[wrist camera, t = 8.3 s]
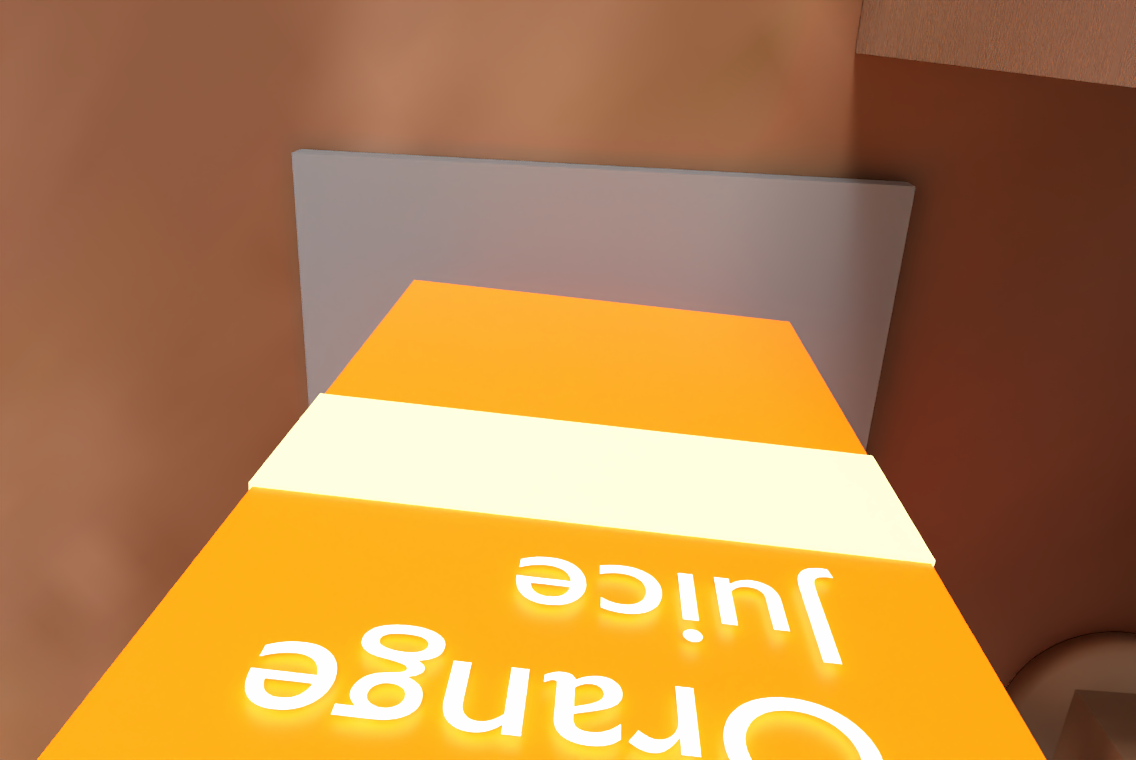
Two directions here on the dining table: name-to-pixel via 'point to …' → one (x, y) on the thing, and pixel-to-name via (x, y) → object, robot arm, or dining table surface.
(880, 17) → the box
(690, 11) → the dining table surface
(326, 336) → the felt mat
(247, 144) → the dining table surface
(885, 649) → the orange juice
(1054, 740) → the cable post
